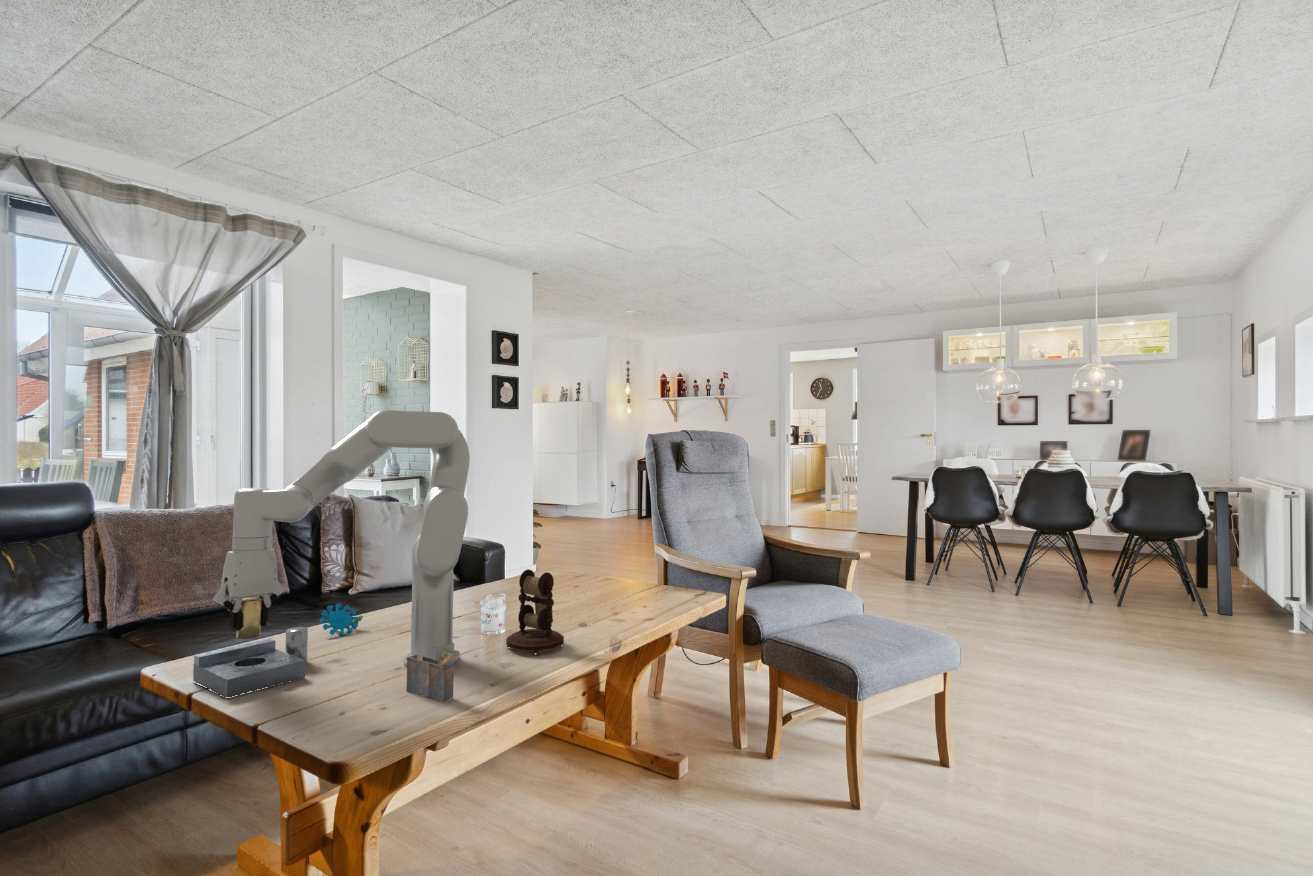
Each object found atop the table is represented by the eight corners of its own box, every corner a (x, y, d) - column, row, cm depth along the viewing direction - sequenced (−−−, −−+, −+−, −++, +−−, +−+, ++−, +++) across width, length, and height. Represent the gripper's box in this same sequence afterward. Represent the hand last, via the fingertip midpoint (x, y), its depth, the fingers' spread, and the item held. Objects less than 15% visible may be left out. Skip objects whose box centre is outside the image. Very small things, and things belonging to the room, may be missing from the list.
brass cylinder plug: (254, 632, 154) (255, 596, 154) (264, 636, 151) (266, 599, 151) (232, 636, 150) (233, 599, 150) (242, 640, 147) (243, 603, 148)
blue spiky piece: (322, 633, 182) (320, 602, 188) (316, 646, 185) (314, 614, 191) (365, 633, 189) (362, 602, 195) (358, 644, 192) (355, 614, 198)
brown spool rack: (575, 646, 180) (576, 570, 180) (535, 660, 168) (537, 578, 168) (534, 636, 188) (535, 564, 188) (493, 649, 176) (495, 571, 176)
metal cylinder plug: (311, 662, 163) (311, 629, 163) (291, 668, 159) (292, 633, 160) (301, 659, 166) (301, 626, 166) (281, 664, 162) (282, 630, 162)
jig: (304, 678, 153) (305, 651, 153) (227, 699, 140) (227, 669, 140) (269, 663, 162) (270, 638, 162) (193, 682, 149) (193, 655, 149)
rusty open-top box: (454, 700, 143) (455, 653, 143) (443, 704, 140) (444, 657, 140) (418, 689, 148) (419, 644, 149) (406, 693, 146) (407, 647, 146)
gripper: (282, 539, 160) (279, 617, 160) (201, 546, 146) (198, 632, 146) (299, 542, 156) (296, 623, 156) (217, 550, 142) (214, 638, 142)
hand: (248, 626), depth 151 cm, fingers closed on brass cylinder plug, 4 cm apart
